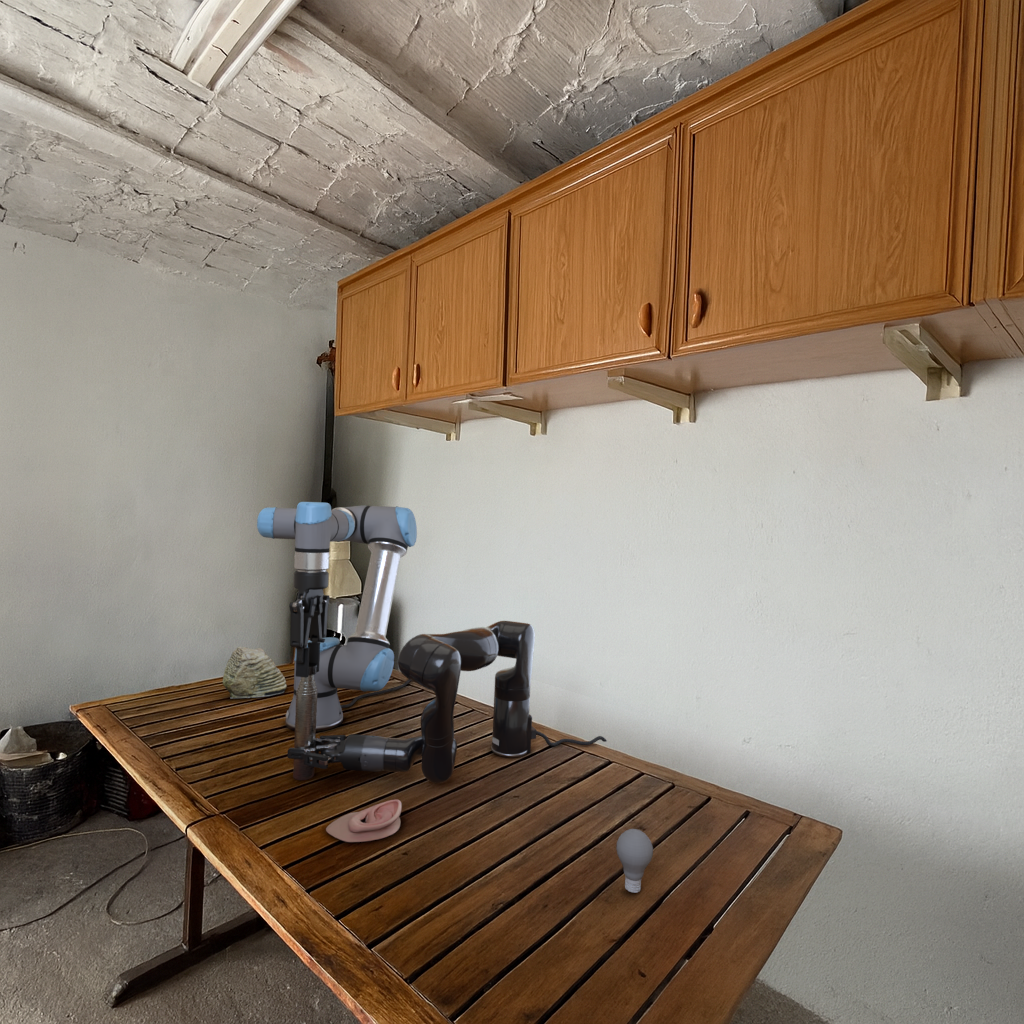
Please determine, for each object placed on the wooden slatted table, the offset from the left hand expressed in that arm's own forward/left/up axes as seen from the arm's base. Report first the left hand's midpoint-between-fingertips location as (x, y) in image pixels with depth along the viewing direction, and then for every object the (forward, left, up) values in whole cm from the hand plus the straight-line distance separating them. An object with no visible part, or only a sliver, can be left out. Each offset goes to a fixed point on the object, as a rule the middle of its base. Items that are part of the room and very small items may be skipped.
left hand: (307, 673), depth 143 cm
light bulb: (-13, +76, -23) cm, 81 cm away
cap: (0, 0, +2) cm, 2 cm away
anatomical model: (+5, +28, -23) cm, 37 cm away
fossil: (-22, -60, -23) cm, 68 cm away
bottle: (0, 0, -23) cm, 23 cm away
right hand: (+2, -2, -17) cm, 17 cm away
